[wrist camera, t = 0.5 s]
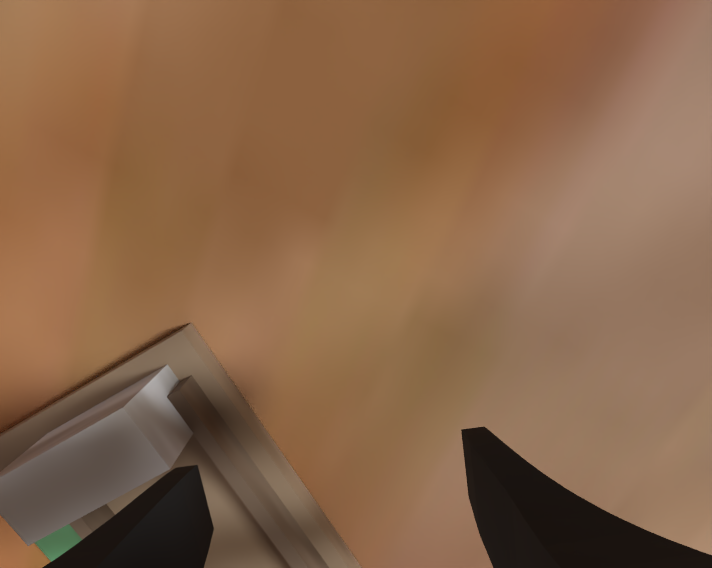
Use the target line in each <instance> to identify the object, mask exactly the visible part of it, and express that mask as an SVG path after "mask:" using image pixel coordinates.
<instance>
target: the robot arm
mask: <svg viewBox="0 0 712 568" xmlns="http://www.w3.org/2000/svg"><path fill="white" fill-rule="evenodd" d="M461 431H462V440H463V449H464V458H465V467H466V476H467V486H468V495H469V499H470V503H471V506H472V510H473V513H474V517H475V520H476V523H477V527H478V530H479V534H480V536H481V538H482V541H483V543H484V546H485V548H486V551H487V553H488V555H489V558H490V560H491V563H492V565H493V568H712V555H709V554H706V553H703V552H700V551H698V550H695V549H692V548H690V547H687V546H684V545H682V544H679V543H676V542H674V541H671V540H668V539H666V538H664V537H661V536H659V535H656V534H654V533H651V532H649V531H647V530H644V529H642V528H640V527H638V526H636V525H634V524H631V523H629V522H627V521H625V520H623V519H621V518H618V517H616V516H614V515H612V514H610V513H608V512H606V511H604V510H603V509H601V508H599V507H597V506H595V505H593V504H592V503H590V502H588V501H586V500H585V499H583V498H581V497H579V496H577V495H576V494H574V493H572V492H571V491H569V490H567V489H566V488H564V487H563V486H561V485H560V484H558V483H557V482H555V481H554V480H552V479H551V478H549V477H548V476H546V475H545V474H543V473H542V472H541V471H539V470H538V469H536V468H535V467H534V466H532V465H531V464H530V463H528V462H527V461H526V460H525V459H523V458H522V457H521V456H519V455H518V454H517V453H516V452H514V451H513V450H512V449H511V448H509V447H508V446H507V445H506V444H505V443H503V442H502V441H501V440H500V439H499V438H498V437H496V436H495V435H494V434H493V433H492V432H490V431H489V430H488V429H487V428H485V427H478V428H471V429H463V430H461ZM213 531H214V527H213V523H212V519H211V515H210V511H209V507H208V503H207V499H206V495H205V492H204V488H203V484H202V480H201V476H200V472H199V468H198V465H191V466H184V467H176V468H174V469H173V470H171V471H170V472H169V473H167V474H166V475H164V476H163V477H162V478H160V479H159V480H158V481H157V482H155V483H154V484H153V485H152V486H150V487H149V488H148V489H147V490H145V491H144V492H143V493H142V494H140V495H139V496H138V497H137V498H135V499H134V500H133V501H132V502H130V503H129V504H128V505H127V506H125V507H124V508H123V509H122V510H120V511H119V512H118V513H117V514H115V515H114V516H113V517H112V518H110V519H109V520H108V521H106V522H105V523H104V524H103V525H101V526H100V527H99V528H97V529H96V530H95V531H93V532H92V533H91V534H89V535H88V536H87V537H85V538H84V539H83V540H81V541H80V542H79V543H77V544H76V545H75V546H73V547H72V548H70V549H69V550H68V551H66V552H65V553H63V554H62V555H61V556H59V557H58V558H56V559H55V560H53V561H52V562H50V563H49V564H47V565H46V566H44V567H43V568H204V565H205V562H206V558H207V555H208V551H209V547H210V543H211V539H212V535H213Z"/></svg>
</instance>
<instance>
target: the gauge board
mask: <svg viewBox="0 0 712 568" xmlns="http://www.w3.org/2000/svg"><path fill="white" fill-rule="evenodd" d="M191 465H198V468H199V472H200V476H201V480H202V484H203V488H204V492H205V495H206V499H207V503H208V507H209V511H210V515H211V519H212V523H213V527H214V531H213V535H212V539H211V543H210V547H209V551H208V555H207V558H206V562H205V565H204V568H362V567H361V566H360V564H359V563H358V562H357V560H356V559H355V557H354V556H353V554H352V553H351V551H350V550H349V549H348V547H347V546H346V544H345V543H344V541H343V540H342V539H341V537H340V536H339V534H338V533H337V531H336V530H335V528H334V527H333V526H332V524H331V523H330V521H329V520H328V518H327V517H326V516H325V514H324V513H323V511H322V510H321V508H320V507H319V505H318V504H317V503H316V501H315V500H314V498H313V497H312V495H311V494H310V493H309V491H308V490H307V488H306V487H305V485H304V484H303V482H302V481H301V480H300V478H299V477H298V475H297V474H296V472H295V471H294V470H293V468H292V467H291V465H290V464H289V462H288V461H287V459H286V458H285V457H284V455H283V454H282V452H281V451H280V449H279V448H278V447H277V445H276V444H275V442H274V441H273V439H272V438H271V436H270V435H269V434H268V432H267V431H266V429H265V428H264V426H263V425H262V424H261V422H260V421H259V419H258V418H257V416H256V415H255V413H254V412H253V411H252V409H251V408H250V406H249V405H248V403H247V402H246V400H245V399H244V398H243V396H242V395H241V393H240V392H239V390H238V389H237V388H236V386H235V385H234V383H233V382H232V380H231V379H230V377H229V376H228V375H227V373H226V372H225V370H224V369H223V367H222V366H221V365H220V363H219V362H218V360H217V359H216V357H215V356H214V354H213V353H212V352H211V350H210V349H209V347H208V346H207V344H206V343H205V342H204V340H203V339H202V337H201V336H200V334H199V333H198V331H197V330H196V329H195V327H194V326H193V324H192V323H190V324H188V325H186V326H184V327H183V328H181V329H179V330H178V331H176V332H174V333H172V334H171V335H169V336H167V337H166V338H164V339H162V340H161V341H159V342H157V343H155V344H154V345H152V346H150V347H149V348H147V349H145V350H143V351H142V352H140V353H138V354H137V355H135V356H133V357H131V358H130V359H128V360H126V361H125V362H123V363H121V364H119V365H118V366H116V367H114V368H113V369H111V370H109V371H107V372H106V373H104V374H102V375H101V376H99V377H97V378H95V379H94V380H92V381H90V382H89V383H87V384H85V385H83V386H82V387H80V388H78V389H77V390H75V391H73V392H71V393H70V394H68V395H66V396H65V397H63V398H61V399H59V400H58V401H56V402H54V403H53V404H51V405H49V406H47V407H46V408H44V409H42V410H41V411H39V412H37V413H35V414H34V415H32V416H30V417H29V418H27V419H25V420H23V421H22V422H20V423H18V424H17V425H15V426H13V427H11V428H10V429H8V430H6V431H5V432H3V433H1V434H0V515H1V516H2V517H3V518H4V519H5V520H6V522H7V523H8V524H9V525H10V526H11V527H12V528H13V529H14V531H15V532H16V533H17V534H18V535H19V536H20V537H21V539H22V540H23V541H24V542H25V543H26V544H27V545H28V546H29V545H31V544H33V543H35V544H36V545H37V546H38V547H39V548H40V550H41V551H42V552H43V553H44V554H45V555H46V556H47V558H48V559H49V560H50V561H51V562H52V561H53V560H55V559H56V558H58V557H59V556H61V555H62V554H63V553H65V552H66V551H68V550H69V549H70V548H72V547H73V546H75V545H76V544H77V543H79V542H80V541H81V540H83V539H84V538H85V537H87V536H88V535H89V534H91V533H92V532H93V531H95V530H96V529H97V528H99V527H100V526H101V525H103V524H104V523H105V522H106V521H108V520H109V519H110V518H112V517H113V516H114V515H115V514H117V513H118V512H119V511H120V510H122V509H123V508H124V507H125V506H127V505H128V504H129V503H130V502H132V501H133V500H134V499H135V498H137V497H138V496H139V495H140V494H142V493H143V492H144V491H145V490H147V489H148V488H149V487H150V486H152V485H153V484H154V483H155V482H157V481H158V480H159V479H160V478H162V477H163V476H164V475H166V474H167V473H169V472H170V471H171V470H173V469H174V468H176V467H184V466H191Z"/></svg>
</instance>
